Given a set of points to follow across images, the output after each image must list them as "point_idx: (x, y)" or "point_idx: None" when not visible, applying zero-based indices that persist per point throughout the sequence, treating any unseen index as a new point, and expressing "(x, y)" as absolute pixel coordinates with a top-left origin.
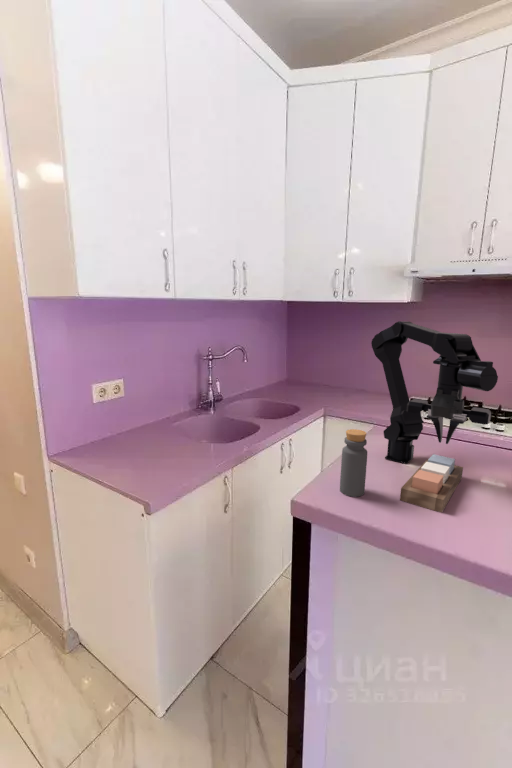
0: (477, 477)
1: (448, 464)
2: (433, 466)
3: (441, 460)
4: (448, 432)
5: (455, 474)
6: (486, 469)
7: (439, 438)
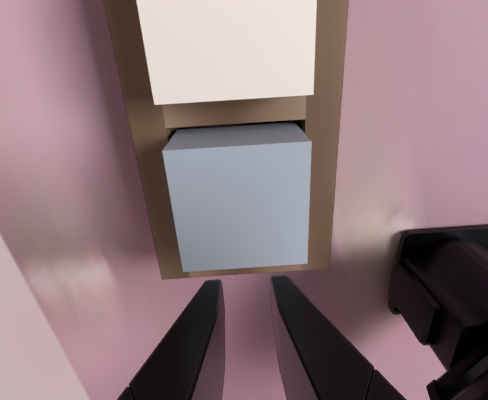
0: (129, 290)
1: (177, 149)
2: (244, 15)
3: (236, 191)
4: (183, 381)
5: (150, 155)
6: (136, 373)
7: (289, 297)
